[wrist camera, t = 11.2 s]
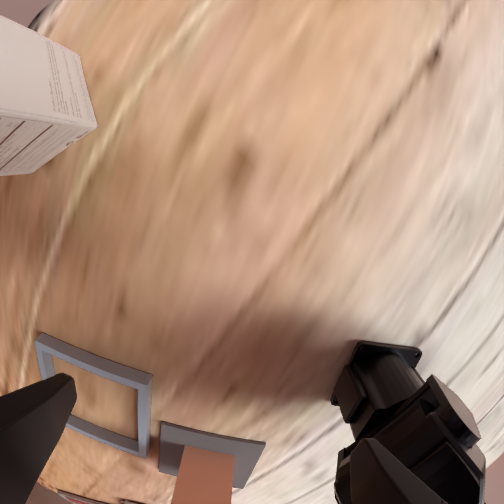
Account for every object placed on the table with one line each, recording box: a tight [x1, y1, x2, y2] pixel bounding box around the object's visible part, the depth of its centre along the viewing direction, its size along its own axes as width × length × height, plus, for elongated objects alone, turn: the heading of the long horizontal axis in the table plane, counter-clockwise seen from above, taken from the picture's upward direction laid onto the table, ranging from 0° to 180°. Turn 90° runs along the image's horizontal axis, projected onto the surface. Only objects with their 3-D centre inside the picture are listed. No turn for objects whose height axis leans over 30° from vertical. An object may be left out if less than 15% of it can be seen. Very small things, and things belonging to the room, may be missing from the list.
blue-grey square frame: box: [34, 333, 153, 458], centre depth 23 cm, size 12×12×2 cm
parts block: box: [171, 445, 235, 504], centre depth 20 cm, size 5×5×9 cm
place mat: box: [159, 421, 266, 489], centre depth 25 cm, size 10×10×1 cm
